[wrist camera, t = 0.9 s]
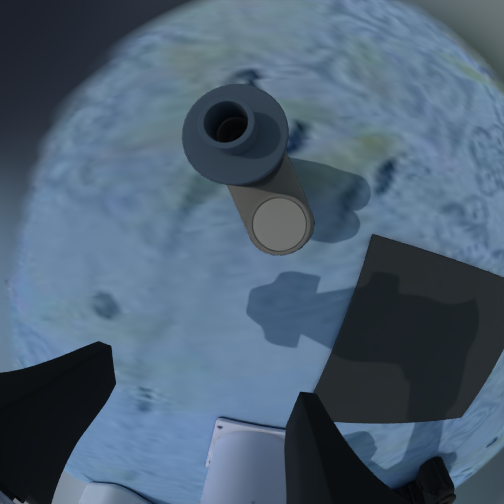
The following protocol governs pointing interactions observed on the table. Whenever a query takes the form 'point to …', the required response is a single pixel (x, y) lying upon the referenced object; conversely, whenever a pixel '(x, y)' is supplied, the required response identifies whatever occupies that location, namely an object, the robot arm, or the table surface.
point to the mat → (413, 338)
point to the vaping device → (250, 163)
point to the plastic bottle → (109, 495)
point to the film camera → (430, 485)
